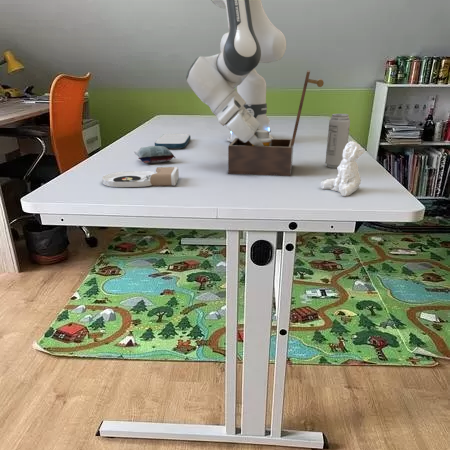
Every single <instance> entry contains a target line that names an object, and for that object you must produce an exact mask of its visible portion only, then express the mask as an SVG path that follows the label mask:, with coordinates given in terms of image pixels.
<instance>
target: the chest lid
mask: <svg viewBox="0 0 450 450" xmlns="http://www.w3.org/2000/svg"><path fill="white" fill-rule="evenodd" d="M310 74H311V69H307V71H306V74H305V78H304V83H303V88H302V92H301V97H300V101H299V106H298V110H297V113H296V114H297V115H296V119H295V122H294V123H295V124H294V128H293V133H292V136H291V139H292V141H291V146H293V147H294V145H295V141H296V136H297V132H298V129H299V123H300V119H301V115H302V109H303V105H304V100H305V96H306V91H307V88H308V83H309V84H314V85H317V87H318V88H321V87H323V86H324V84H325V82H324V80H323V78H318V79H313V78H310Z"/></svg>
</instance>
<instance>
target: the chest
mask: <svg viewBox="0 0 450 450" xmlns="http://www.w3.org/2000/svg"><path fill="white" fill-rule="evenodd" d="M271 140H272V142H271V146H252V144H251V143H250V142H249V141H247V142H246V143H244V142H242V141H241V140H240V139H239V138H235V139H234V140H233V141H232V142H229V145H228V146H227V157H228V158H227V173H228V175H246V176H247V175H248V176H249V175H253V176H274V177H275V176H276V177H277V176H278V177H291V174H292V173H291V172H292V168H293V158H294V157H293V156H294V146H291V141H292V138H273V139H271Z"/></svg>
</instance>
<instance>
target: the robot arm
mask: <svg viewBox="0 0 450 450" xmlns="http://www.w3.org/2000/svg"><path fill="white" fill-rule="evenodd" d="M210 1H211V3H212V4H214V6H216V7H218V8H221V9H225V11H226V19H227V25H228V31H227V32H225V33H224V34H223V35H222V37H221V39H220V44H219V50H220V52H219V53H216V54H213V55H208V56H202V55H199V56H198V57H197V58H195V59H194V61H193V62H192V64H191V65H190V68H189V69H188V71H187V73H186V76H185V79H186V83H187V84H188V86H189V87H190V89H191V90H192V92H193V93H194V94H195V95H196V96H197V98H198V99H200V101H201V102H202V103H203V104H205V105H207V106H208V107H209V109H210V111H211V112H212V114H213V115H214V116H215V117H216V118H217V121H218V123H219V124H220V125H221V126H223V127H224V126H225V127H226V128H227V129H228V130H229V131H230V137H229V136H228V137H227V138H226V142H229V143H231V142H232V141H233V140H234V139H235V138H239V139H240V140H241V141H242V142H244V143H246V142H247V141H249V142H250V143H251V144H253V145H254V146H264V144H263V143H262V142H260V140H259V139H258V138H257V137H256V136H255V132H256V131H257V130H268V131H269V138H271V139H274V137H273V135H271V133H272V130H271V129H270V127H271V120H270V117H268V116H267V112H268V104H267V81H266V79H265V77H263V76H262V75H260V74H259V73H258V71H257V69H256V67H258V65H259V64H270V63H274V62H278V61H280V60H282V58H283V57H284V56H285V53H286V50H287V39H286V36H285V34H284V33H283V32H282V31H281V30H280V29H279V28H277V27H276V26H275V24H273V23H272V21H271V20H270V19H269V17H268V15H267V13H266V11H265V9H264V6H263V1H262V0H210ZM235 88H236V89H235Z"/></svg>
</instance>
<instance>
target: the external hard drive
mask: <svg viewBox="0 0 450 450" xmlns="http://www.w3.org/2000/svg"><path fill="white" fill-rule="evenodd" d="M190 141H191V134H189V133H164V134H161V135H160V136H159V137H158V138H157V139H156V140H155V141H154V146H163V147H166V148H168V149H182V148H185V147H186V146H187V145H188V143H189V142H190Z"/></svg>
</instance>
